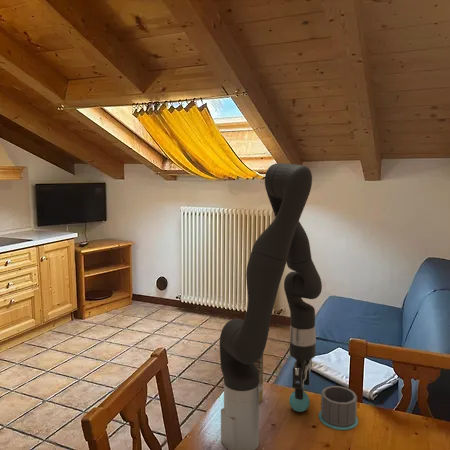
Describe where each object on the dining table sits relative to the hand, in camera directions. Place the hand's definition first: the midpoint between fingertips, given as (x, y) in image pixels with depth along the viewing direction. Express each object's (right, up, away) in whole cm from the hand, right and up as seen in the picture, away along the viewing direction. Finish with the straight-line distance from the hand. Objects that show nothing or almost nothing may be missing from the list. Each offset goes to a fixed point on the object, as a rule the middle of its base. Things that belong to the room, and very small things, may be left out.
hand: (302, 391), depth 127 cm
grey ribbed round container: (+10, -7, -3) cm, 12 cm away
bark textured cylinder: (-15, -6, +7) cm, 17 cm away
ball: (-1, -3, +1) cm, 3 cm away
